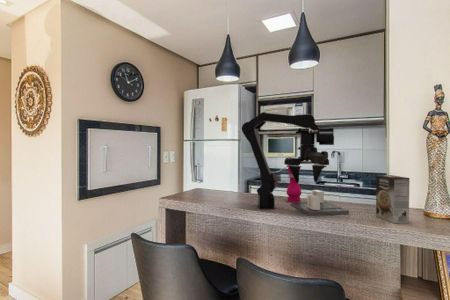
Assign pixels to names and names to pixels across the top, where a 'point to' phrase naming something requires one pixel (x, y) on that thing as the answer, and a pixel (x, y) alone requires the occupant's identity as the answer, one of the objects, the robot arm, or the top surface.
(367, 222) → the top surface
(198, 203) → the top surface
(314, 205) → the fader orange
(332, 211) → the mixer panel
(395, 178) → the coffee box
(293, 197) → the pepper mill
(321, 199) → the fader plain
